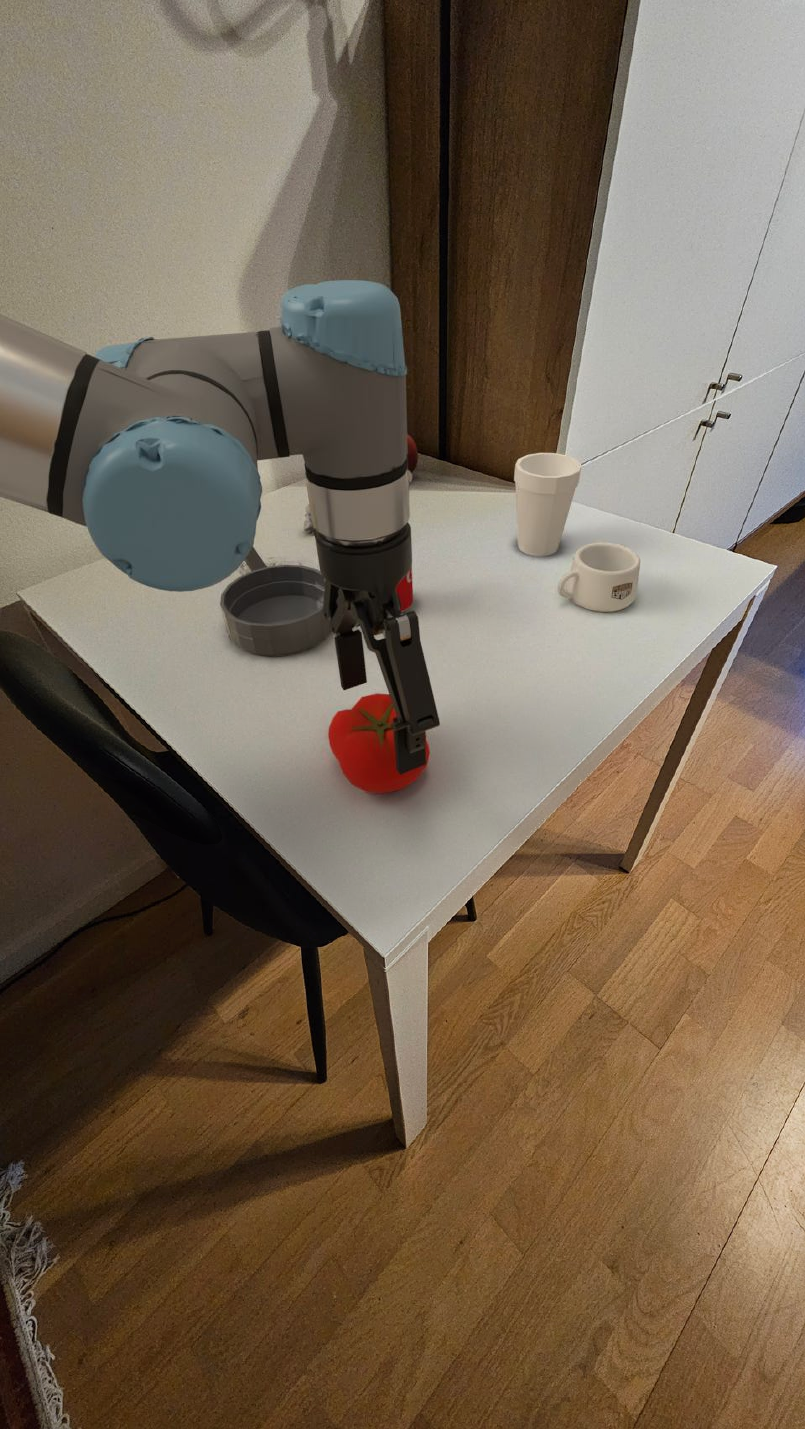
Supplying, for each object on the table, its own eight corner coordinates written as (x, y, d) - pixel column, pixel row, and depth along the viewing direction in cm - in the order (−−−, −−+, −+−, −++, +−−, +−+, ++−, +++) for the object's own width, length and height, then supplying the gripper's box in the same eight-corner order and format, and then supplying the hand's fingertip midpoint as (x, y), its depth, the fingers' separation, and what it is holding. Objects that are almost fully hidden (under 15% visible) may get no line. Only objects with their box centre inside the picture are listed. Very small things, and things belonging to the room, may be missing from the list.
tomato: (356, 815, 62) (350, 771, 58) (322, 744, 69) (314, 699, 65) (445, 783, 65) (446, 738, 60) (403, 718, 72) (401, 673, 68)
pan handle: (256, 580, 89) (254, 572, 88) (234, 544, 97) (232, 537, 96) (270, 576, 90) (268, 569, 89) (246, 541, 98) (245, 534, 97)
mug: (609, 572, 94) (617, 534, 90) (649, 605, 87) (660, 566, 83) (538, 589, 91) (543, 551, 87) (573, 624, 84) (580, 585, 80)
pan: (246, 670, 79) (237, 638, 76) (216, 612, 90) (208, 582, 86) (355, 637, 84) (351, 605, 81) (315, 585, 94) (311, 555, 91)
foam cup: (550, 528, 105) (561, 449, 96) (579, 554, 98) (593, 471, 89) (498, 538, 103) (504, 458, 94) (524, 565, 96) (533, 482, 87)
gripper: (490, 585, 41) (477, 793, 56) (345, 461, 58) (364, 646, 73) (387, 617, 39) (402, 826, 54) (267, 479, 56) (303, 666, 70)
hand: (380, 723), depth 63 cm, fingers open, 13 cm apart
